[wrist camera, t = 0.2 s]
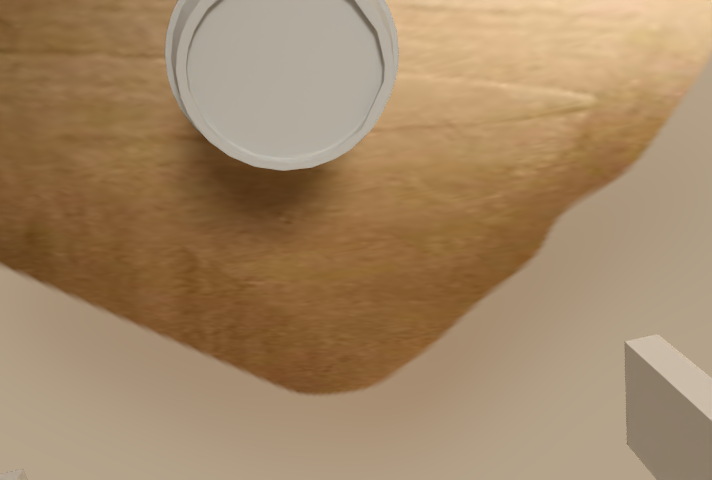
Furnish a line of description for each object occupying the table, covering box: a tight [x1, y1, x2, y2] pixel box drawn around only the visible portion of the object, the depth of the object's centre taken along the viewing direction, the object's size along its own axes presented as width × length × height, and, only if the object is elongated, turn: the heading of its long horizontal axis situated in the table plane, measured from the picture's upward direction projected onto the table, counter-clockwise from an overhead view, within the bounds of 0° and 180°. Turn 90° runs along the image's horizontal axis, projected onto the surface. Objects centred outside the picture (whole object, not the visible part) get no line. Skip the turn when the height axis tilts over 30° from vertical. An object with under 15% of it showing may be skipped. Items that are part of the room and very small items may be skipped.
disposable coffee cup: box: [165, 0, 399, 171], centre depth 30 cm, size 10×10×12 cm
